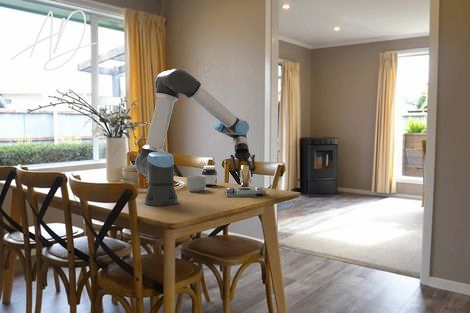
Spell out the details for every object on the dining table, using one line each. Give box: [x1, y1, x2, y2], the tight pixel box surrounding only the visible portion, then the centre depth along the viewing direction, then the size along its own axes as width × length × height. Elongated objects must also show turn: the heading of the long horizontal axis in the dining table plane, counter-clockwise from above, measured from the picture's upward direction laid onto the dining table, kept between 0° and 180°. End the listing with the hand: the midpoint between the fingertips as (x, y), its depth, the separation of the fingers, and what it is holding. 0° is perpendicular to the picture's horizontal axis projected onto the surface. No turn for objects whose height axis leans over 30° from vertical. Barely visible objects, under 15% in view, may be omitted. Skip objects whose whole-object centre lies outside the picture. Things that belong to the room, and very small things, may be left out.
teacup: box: [185, 174, 207, 193], centre depth 226 cm, size 14×11×8 cm
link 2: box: [233, 186, 267, 196], centre depth 213 cm, size 15×10×4 cm, turn 98°
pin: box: [240, 164, 250, 188], centre depth 212 cm, size 4×4×11 cm
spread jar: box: [201, 165, 218, 188], centre depth 242 cm, size 12×11×12 cm
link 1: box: [224, 187, 257, 198], centre depth 212 cm, size 15×10×4 cm, turn 98°
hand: (246, 181), depth 208 cm, fingers closed on pin, 4 cm apart
